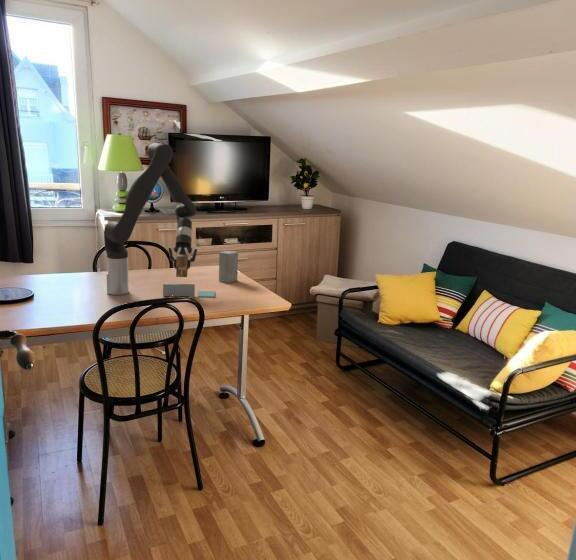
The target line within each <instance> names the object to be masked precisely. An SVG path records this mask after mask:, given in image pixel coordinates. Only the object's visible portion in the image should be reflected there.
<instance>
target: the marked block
mask: <svg viewBox="0 0 576 560" xmlns="http://www.w3.org/2000/svg"><path fill="white" fill-rule="evenodd" d="M187 262H188V255H186V254H177V259H176V269H175V272H176V273H175V277H177V278H188V270H189V269H187Z"/></svg>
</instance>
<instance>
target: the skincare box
mask: <svg viewBox="0 0 576 560" xmlns="http://www.w3.org/2000/svg"><path fill="white" fill-rule="evenodd" d="M218 254H219V255H218V281H219V282H222V283H225V284H230V283H235V282H238V272H239V271H238V268H239V266H238V264H239V252H237V251H233V250H227V251H226V250H224V251H219V253H218Z"/></svg>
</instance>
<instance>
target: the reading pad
mask: <svg viewBox="0 0 576 560" xmlns="http://www.w3.org/2000/svg"><path fill="white" fill-rule="evenodd" d="M215 295H216V294H215V291H214V290H208V291H207V290H198V292H197V298H215V297H216V296H215Z"/></svg>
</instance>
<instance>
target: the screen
mask: <svg viewBox="0 0 576 560" xmlns="http://www.w3.org/2000/svg"><path fill="white" fill-rule="evenodd" d="M195 288H196V285H195V283H192V284H191V283H162V297H163V296H172V295H173V296H189V297H188V298H195V296H196V295H195V294H196V292H195Z"/></svg>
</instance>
